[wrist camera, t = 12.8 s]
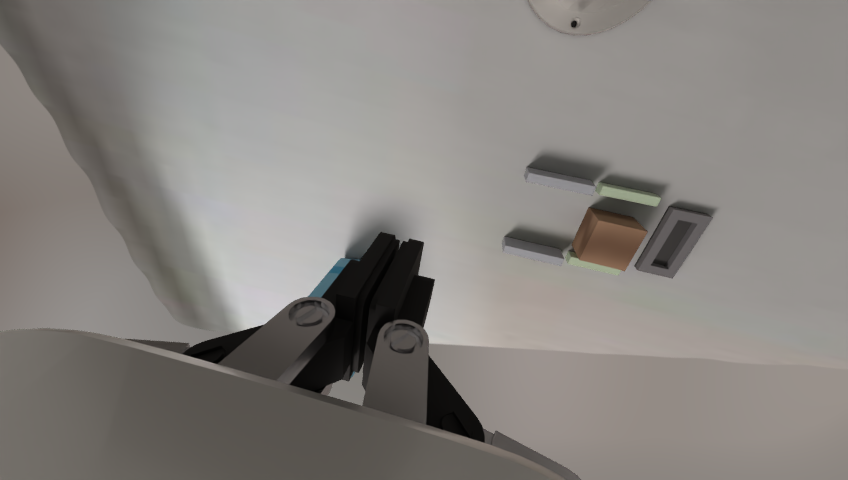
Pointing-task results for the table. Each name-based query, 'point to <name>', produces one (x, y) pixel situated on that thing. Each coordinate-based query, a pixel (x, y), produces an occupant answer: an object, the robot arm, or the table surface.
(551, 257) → the walled lane
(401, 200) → the table surface
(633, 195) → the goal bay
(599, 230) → the walnut block
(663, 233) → the tray
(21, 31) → the table surface
